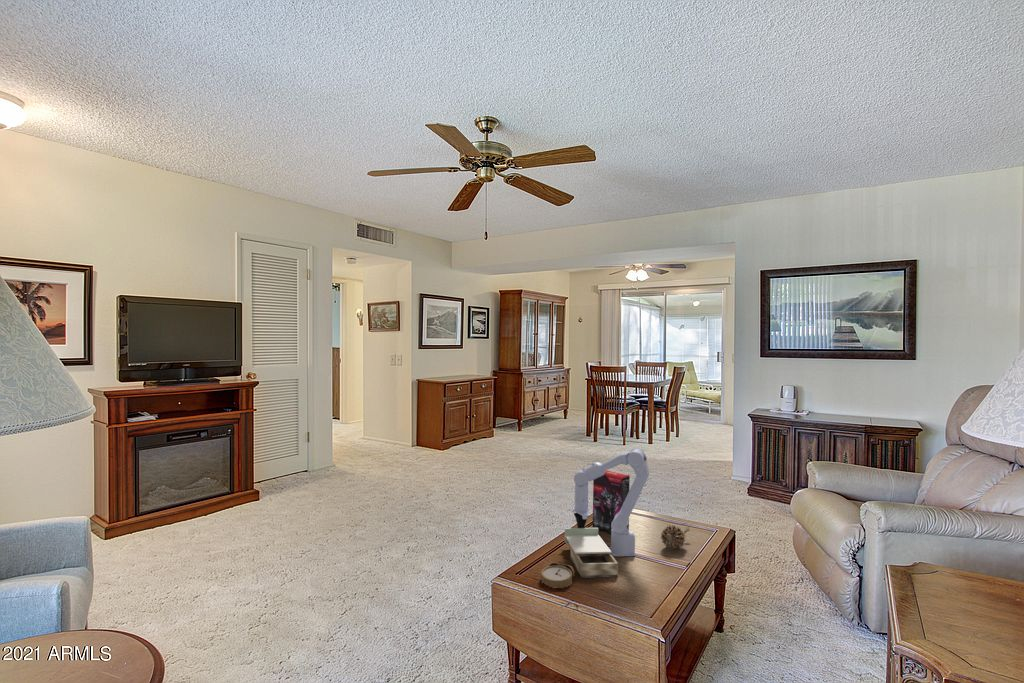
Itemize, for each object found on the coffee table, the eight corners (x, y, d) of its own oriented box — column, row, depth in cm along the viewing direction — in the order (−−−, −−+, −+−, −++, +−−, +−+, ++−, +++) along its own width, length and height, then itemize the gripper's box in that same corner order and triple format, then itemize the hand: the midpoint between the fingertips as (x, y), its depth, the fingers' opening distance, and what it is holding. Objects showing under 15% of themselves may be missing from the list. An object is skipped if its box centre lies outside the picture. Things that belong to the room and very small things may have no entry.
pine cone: (677, 556, 211) (678, 532, 211) (655, 550, 217) (655, 526, 217) (696, 541, 228) (696, 519, 228) (675, 536, 234) (676, 514, 234)
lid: (597, 541, 219) (597, 527, 219) (611, 560, 199) (611, 545, 199) (564, 542, 217) (564, 528, 217) (575, 561, 198) (575, 545, 198)
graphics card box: (591, 527, 243) (592, 470, 243) (600, 524, 248) (601, 468, 248) (621, 538, 230) (622, 477, 231) (629, 534, 235) (630, 475, 236)
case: (603, 557, 208) (604, 544, 209) (617, 576, 191) (618, 563, 191) (570, 557, 207) (570, 545, 207) (581, 577, 189) (581, 564, 189)
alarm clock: (536, 577, 183) (550, 555, 196) (536, 590, 183) (551, 567, 197) (565, 584, 178) (578, 560, 191) (566, 597, 179) (579, 572, 192)
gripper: (568, 494, 226) (568, 525, 226) (576, 504, 212) (575, 537, 211) (584, 494, 227) (583, 524, 227) (592, 504, 212) (592, 536, 212)
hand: (580, 530), depth 219 cm, fingers closed
